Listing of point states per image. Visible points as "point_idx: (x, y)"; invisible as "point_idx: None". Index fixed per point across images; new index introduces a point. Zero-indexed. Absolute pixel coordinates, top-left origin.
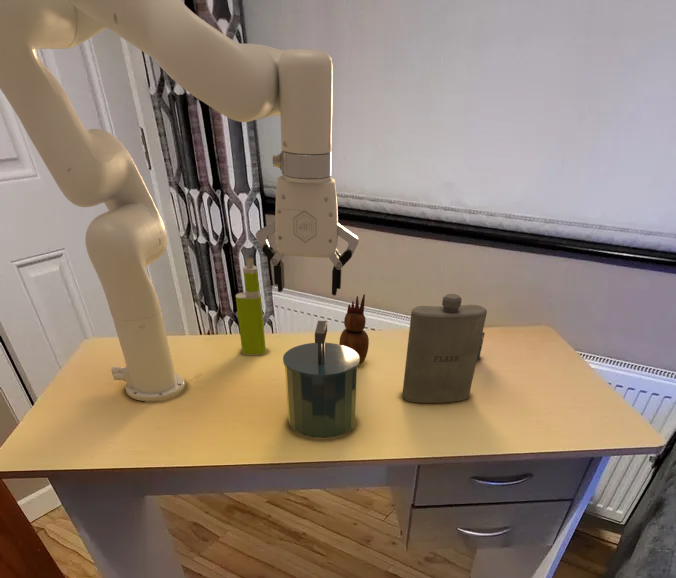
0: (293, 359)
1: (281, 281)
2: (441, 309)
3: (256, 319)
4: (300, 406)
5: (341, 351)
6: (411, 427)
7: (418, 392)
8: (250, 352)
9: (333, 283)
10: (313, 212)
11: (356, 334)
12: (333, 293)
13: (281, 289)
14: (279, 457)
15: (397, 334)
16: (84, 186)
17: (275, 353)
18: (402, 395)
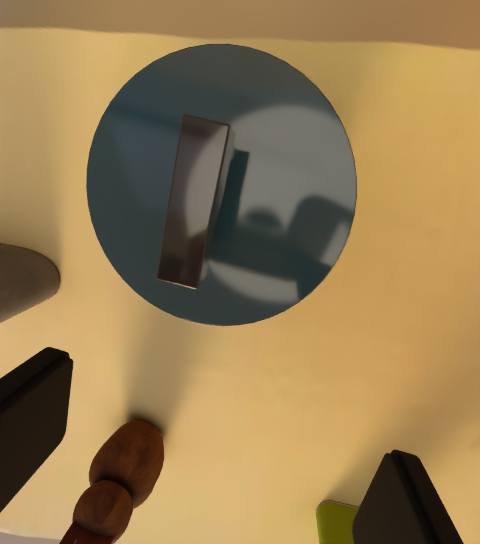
0: (317, 199)
1: (413, 504)
2: None
3: None
4: None
5: (143, 244)
6: (53, 149)
7: (15, 255)
8: (351, 510)
9: (11, 389)
10: None
11: (111, 474)
12: (56, 351)
13: (394, 459)
14: (361, 46)
15: (49, 523)
16: None
17: (297, 500)
18: (58, 279)
